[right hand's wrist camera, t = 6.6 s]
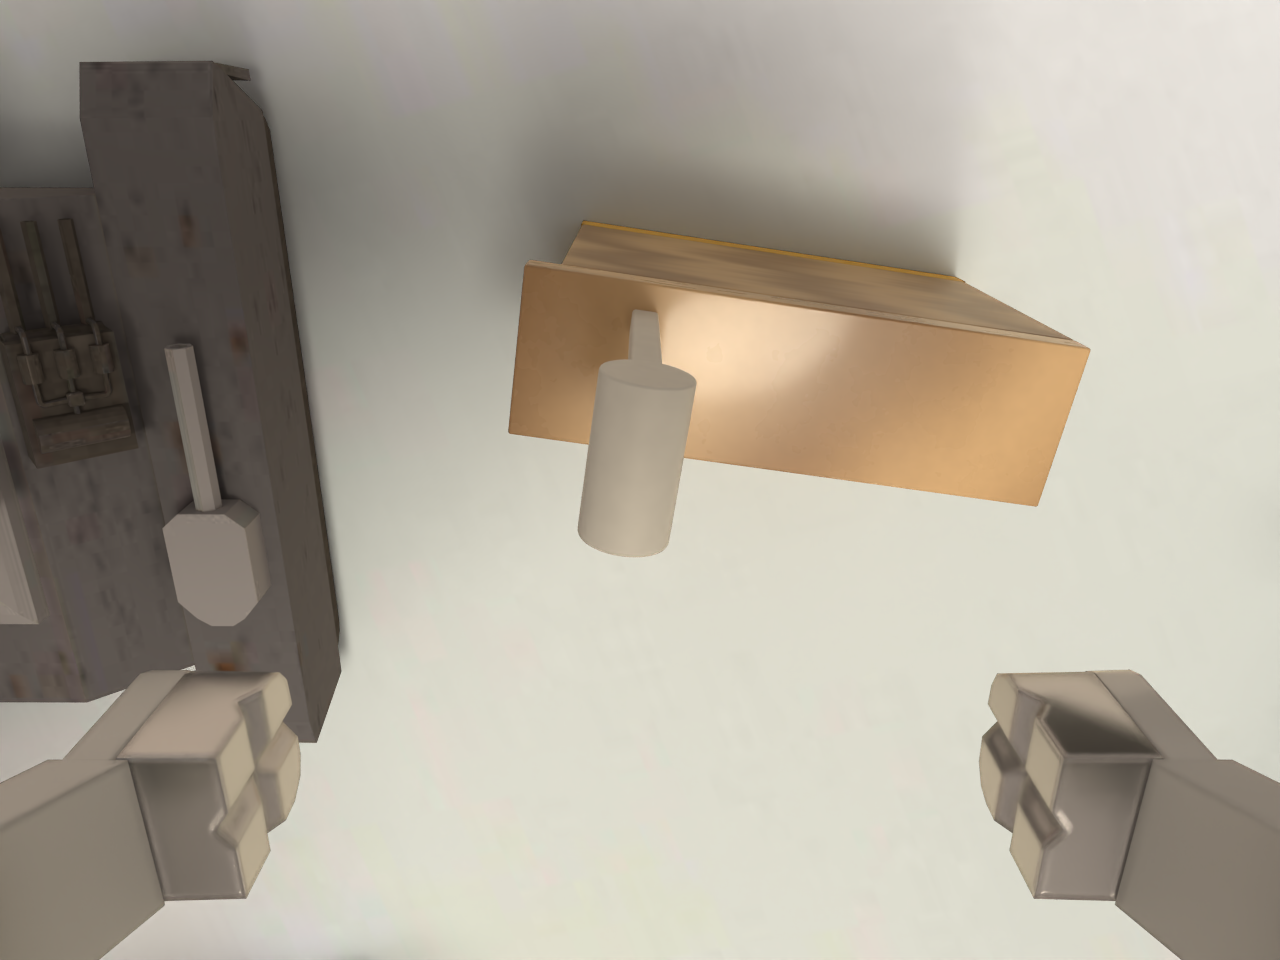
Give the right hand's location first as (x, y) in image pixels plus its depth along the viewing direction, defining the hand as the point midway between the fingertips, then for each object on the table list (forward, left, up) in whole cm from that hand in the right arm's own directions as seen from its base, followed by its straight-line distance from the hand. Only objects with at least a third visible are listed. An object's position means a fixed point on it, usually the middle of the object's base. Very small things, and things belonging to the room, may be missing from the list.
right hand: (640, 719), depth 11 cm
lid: (+4, -1, -16) cm, 17 cm away
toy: (-24, -1, -27) cm, 36 cm away
